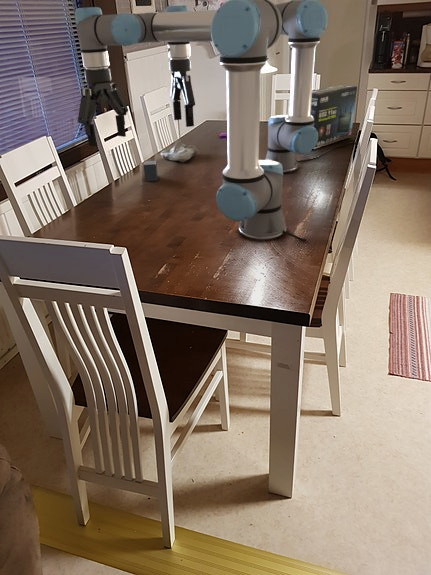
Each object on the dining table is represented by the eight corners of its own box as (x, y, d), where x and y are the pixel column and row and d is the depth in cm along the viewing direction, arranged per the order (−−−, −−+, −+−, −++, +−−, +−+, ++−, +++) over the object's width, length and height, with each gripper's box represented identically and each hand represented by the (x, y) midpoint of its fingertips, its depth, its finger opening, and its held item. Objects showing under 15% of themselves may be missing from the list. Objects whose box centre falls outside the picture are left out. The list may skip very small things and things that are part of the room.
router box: (314, 151, 231) (318, 94, 217) (296, 148, 237) (299, 92, 224) (352, 138, 251) (358, 85, 238) (335, 135, 258) (340, 83, 245)
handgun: (219, 136, 267) (219, 132, 266) (232, 135, 268) (232, 131, 267) (227, 144, 249) (227, 140, 248) (240, 143, 250) (240, 139, 249)
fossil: (184, 156, 217) (163, 136, 220) (174, 174, 223) (154, 154, 227) (205, 153, 231) (186, 134, 234) (195, 171, 237) (176, 152, 240)
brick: (157, 176, 205) (156, 160, 201) (157, 180, 200) (155, 164, 196) (146, 177, 205) (144, 161, 201) (145, 181, 200) (143, 164, 196)
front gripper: (115, 63, 147) (124, 131, 158) (56, 72, 129) (71, 148, 140) (133, 63, 144) (141, 133, 155) (75, 73, 126) (88, 151, 137)
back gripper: (158, 56, 166) (164, 118, 177) (180, 61, 146) (185, 130, 157) (178, 55, 168) (182, 116, 179) (202, 60, 148) (205, 128, 159)
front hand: (108, 140), depth 147 cm, fingers open, 13 cm apart
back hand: (183, 123), depth 168 cm, fingers open, 13 cm apart
